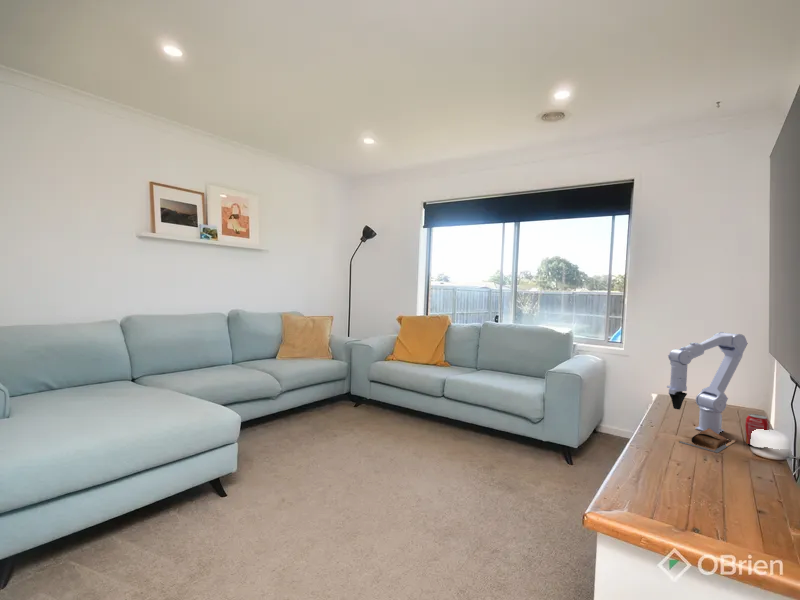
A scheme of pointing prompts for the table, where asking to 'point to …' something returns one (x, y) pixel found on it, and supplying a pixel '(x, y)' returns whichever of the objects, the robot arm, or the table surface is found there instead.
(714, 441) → the sunglasses case
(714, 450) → the taped bay
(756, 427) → the soda can
